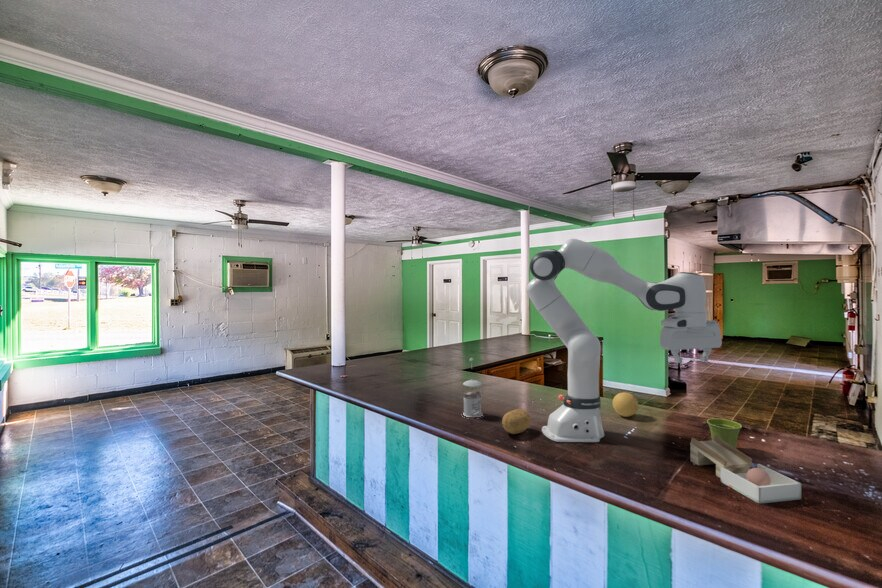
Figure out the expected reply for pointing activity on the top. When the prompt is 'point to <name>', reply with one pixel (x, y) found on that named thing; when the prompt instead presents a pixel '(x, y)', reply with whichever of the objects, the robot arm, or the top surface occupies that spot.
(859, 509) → the top surface
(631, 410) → the stress ball
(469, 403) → the french press
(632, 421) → the top surface
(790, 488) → the tray
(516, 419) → the potato
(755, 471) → the rubber ball
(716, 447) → the launch ramp
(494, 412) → the top surface
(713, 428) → the plant pot
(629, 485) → the top surface
